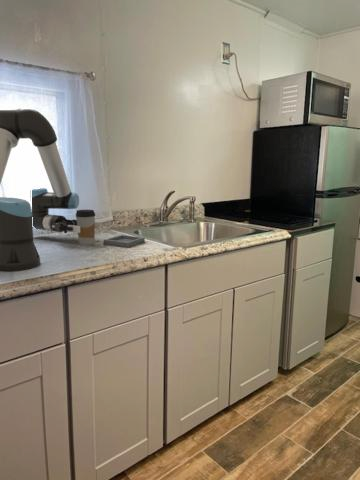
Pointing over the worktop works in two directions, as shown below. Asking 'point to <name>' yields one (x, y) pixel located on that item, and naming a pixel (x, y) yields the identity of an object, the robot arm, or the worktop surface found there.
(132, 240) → the dish
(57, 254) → the worktop surface
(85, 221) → the coffee cup
